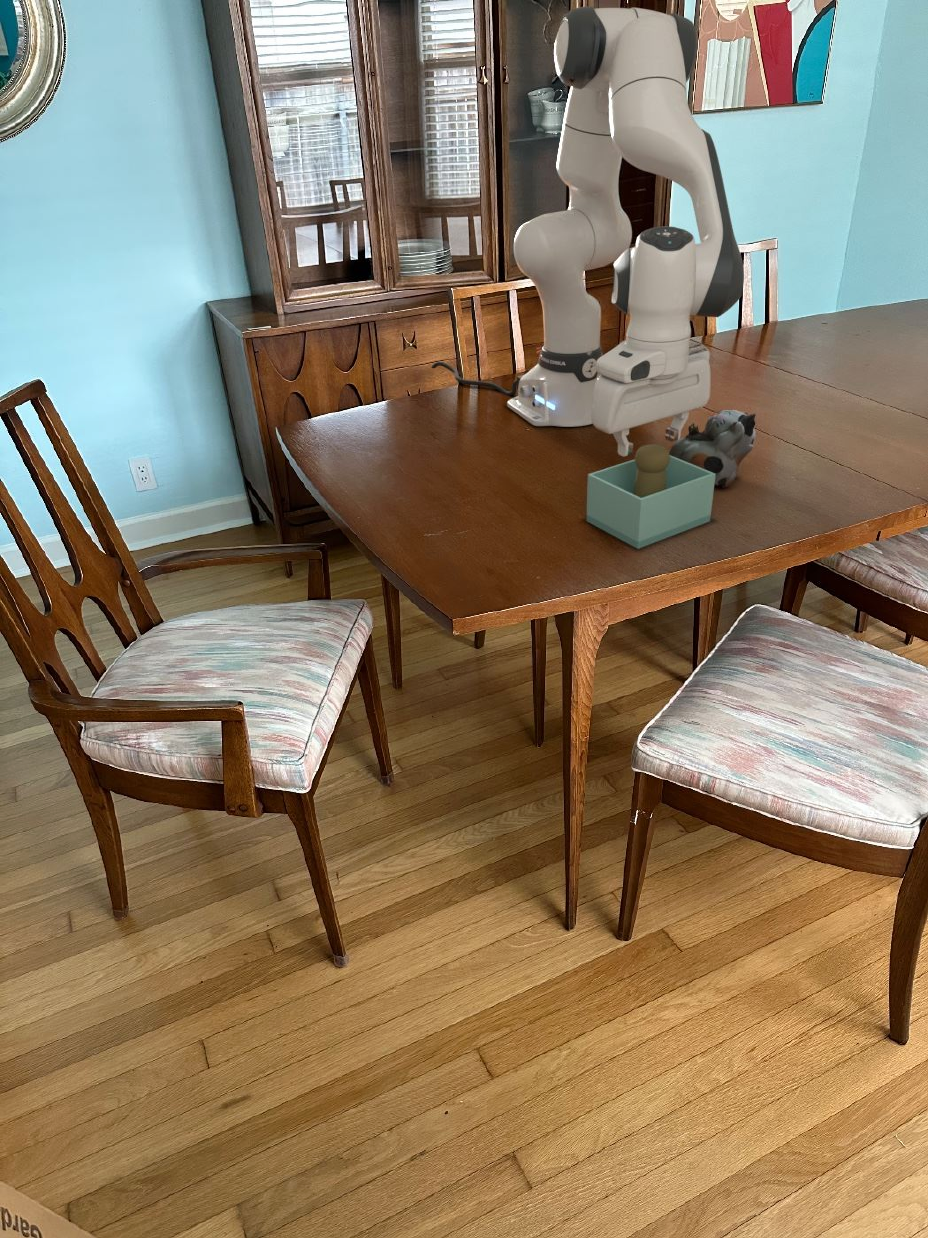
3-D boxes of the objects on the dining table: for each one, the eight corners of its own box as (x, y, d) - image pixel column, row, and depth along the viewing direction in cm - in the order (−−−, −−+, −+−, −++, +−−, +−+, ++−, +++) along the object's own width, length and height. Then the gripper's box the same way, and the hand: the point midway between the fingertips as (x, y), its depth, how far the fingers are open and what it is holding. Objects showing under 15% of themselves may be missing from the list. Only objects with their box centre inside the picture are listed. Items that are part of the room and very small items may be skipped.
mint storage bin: (587, 474, 131) (641, 499, 123) (660, 450, 138) (715, 473, 129) (586, 521, 136) (637, 549, 127) (656, 496, 142) (710, 521, 133)
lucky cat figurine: (663, 459, 155) (703, 387, 150) (723, 489, 154) (765, 418, 149) (661, 467, 141) (704, 389, 136) (727, 501, 140) (773, 423, 135)
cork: (668, 523, 131) (673, 455, 125) (628, 521, 132) (631, 454, 126) (667, 506, 136) (673, 440, 130) (629, 504, 137) (633, 439, 131)
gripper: (694, 336, 127) (685, 425, 135) (586, 363, 119) (583, 456, 126) (726, 345, 123) (714, 437, 130) (616, 373, 114) (610, 470, 122)
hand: (649, 447), depth 128 cm, fingers open, 8 cm apart
